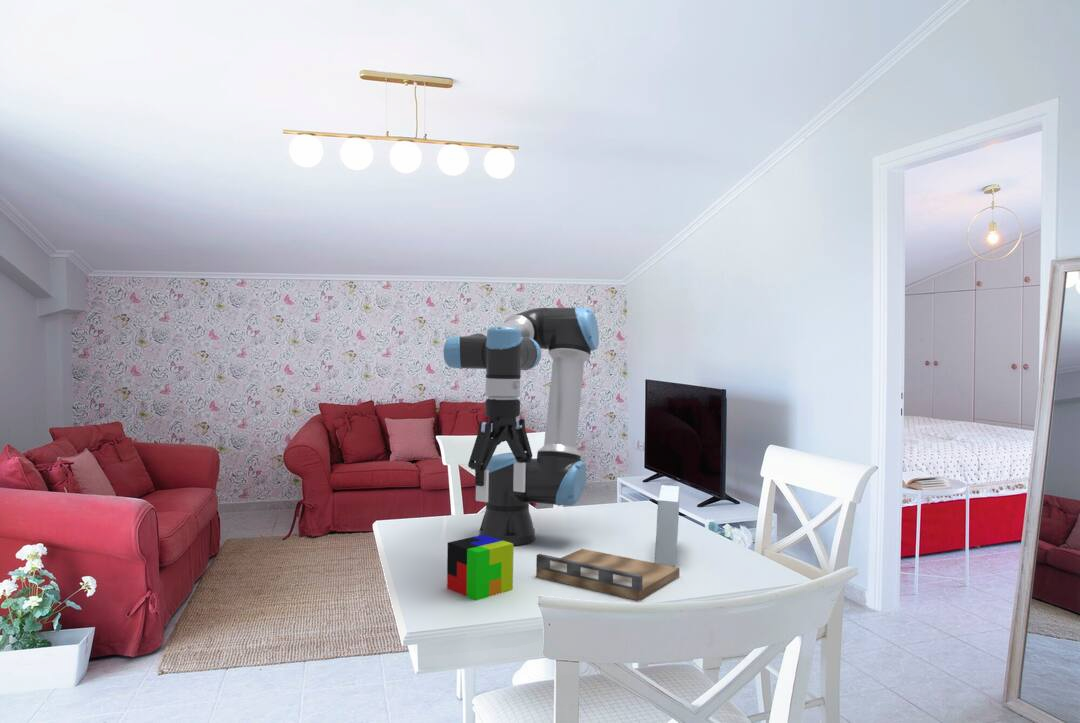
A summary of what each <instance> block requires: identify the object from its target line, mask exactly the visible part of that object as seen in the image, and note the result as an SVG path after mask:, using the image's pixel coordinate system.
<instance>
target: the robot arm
mask: <svg viewBox="0 0 1080 723" xmlns="http://www.w3.org/2000/svg"><path fill="white" fill-rule="evenodd" d="M599 337H600V335H599V325H598V320H597V318H596V315H595V313H594V311H593V310H592V309H590V308H587V307H577V306H575V307H537V308H531V309H529V310H525V311H522V312H519V313H516V314H513V315H510V316H508V317H507V318H506V319H505V320H504V322H503V323H499V324H497V325H495V326H491V327H489V328H486V329H484V330H481V331H479V332H476V333H474V334H471V335H468V336H461V335H458V336H450V337H448V338H447V339H446V340H445V342H444V345H443V351H442V352H443V359H444V363H445V365H447V367H448V368H452V369H460V370H462V369H468V370H470V369H474V370H475V369H476V370H478V369H479V370H482V369H483V370H486V371H485V390H484V392H485V393H484V395H485V396H486V397H487V398H486V399H485V409H484V414H485V416H487V417H488V422H486V421H480V422H479V423H478V428H477V429H478V430H477V435H476V438H475V441H474V445H473V448H472V451H471V455H470V457H469V460H468V465H467V466H468V468H470V469H471V470H474V472H475V473H474V475H475V477H474V478H475V479H474V485H475V501H476V502H483V503H485V512H484V514H483V518H482V521H481V524H480V528H479V531H478V536H479V535H486V536H490V537H493V538H496V539H500V540H503V541H506V542H510V543H513V546H521V545H527V544H529V543H530V544H531V543H532V542H533V541H535V540H536V529H535V528H534V524H533V521H532V517H531V513H530V503H535V504H545V505H553V506H559V507H560V506H574V505H575V504H577V503H578V502H579V501H580V499H581V497H582V495H583V492H584V489H585V487H586V481H587V465H586V463H585V462H584V461H581V459H582V458H581V457H582V455H581V454H580V452H579V451H578V449H577V439H578V431H579V430H578V428H579V418H580V408H581V399H582V398H581V397H582V389H583V378H584V367H585V362H586V361H588V360H589V359H590V358H591V353H592V352H593V351H596V350H597V349H598V347H599V343H600V342H599V341H600V338H599ZM542 350H548V352H547V353H548V355H549V356H550V358H552V365H551V377H550V386H549V394H548V405H547V414H546V423H545V432H544V440H543V441H544V443H543V445H542V447H540V448H539V449H538V450H537V453H536V454H537V455H536V458H534V457H533V452H532V447H531V445H530V441H529V437H528V434H527V431H526V420H525V418H519V417H520V416H521V401H520V399H518V398H519V397H521V379H522V378H521V377H522V375H521V374H522V373H521V372H522V371H528V370H531V369H534V368H535V367H536V366H537V365H539V363H540V361H541V360H542V359H541V358H542ZM591 351H592V352H591ZM504 442H506V443H507V445H508V447H509V448H510V452H505V453H500V454H499V453H498V454H495V455H494V453H495V452H496V449H497V447H498V446H499V445H501V444H502V443H504Z"/></svg>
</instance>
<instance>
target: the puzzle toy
mask: <svg viewBox="0 0 1080 723" xmlns="http://www.w3.org/2000/svg"><path fill="white" fill-rule="evenodd" d="M446 556H447V557H446V558H447V560H446V561H447V562H446V565H447V567H446V572H447V573H446V588H447V589H448V590H450V591H452V592H455V593H457V594H460V595H462V596H465V597H467V598H470V599H472V600H475V601H479V600H482V599H486V597H487V598H490V597H493V596H496V594H497V595H499V593H500V594H503V593H506V591H507V592H510V591H512V589H514V545H513V543H510V542H506V541H503V540H500V539H496V538H493V537H490V536H486V535H479V534H478V535H475V536H471V537H467V538H461V539H457V540H453V541H449V542H447V554H446ZM509 590H510V591H509ZM502 592H503V593H502ZM492 595H493V596H492ZM489 596H490V597H489Z"/></svg>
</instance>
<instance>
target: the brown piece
mask: <svg viewBox="0 0 1080 723" xmlns="http://www.w3.org/2000/svg"><path fill="white" fill-rule="evenodd" d="M535 566H536V567H535V568H536V574H535V576H536V578H540V579H543V580H548V581H552V582H557V583H561V584H565V585H569V586H574V587H578V588H583V589H587V590H592V591H596V592H599V593H603V594H609V595H613V596H617V597H621V598H626V599H630V600H633V599H634V601H637V600H640V601H642V600H644V599H645V598H647V597H649V596H650V595H652V594H653V593H654V592H657V591H659V590H660V589H661V588H663V587H665V586H666V585H668V584H670V583H671V582H674V581H675V580H676V579H678V578H680V567H676V566H667V565H662V564H657V563H654V562H651V561H646V560H641V559H636V558H630V557H626V556H621V555H616V554H611V553H606V552H601V551H596V550H592V549H591V550H590V549H585V548H580V549H579V550H576V551H574V552H571V553H569V554H567V555H565V556H562V557H556V556H553V555H547V554H542V553H538V554H536V564H535Z"/></svg>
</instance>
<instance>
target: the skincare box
mask: <svg viewBox="0 0 1080 723" xmlns="http://www.w3.org/2000/svg"><path fill="white" fill-rule="evenodd" d="M660 486H661V487H660V490H659V493H658V499H657V513H656V530H655V531H656V533H655V534H656V535H655V548H654V560H653V561H654V562H653V563H657V564H662V565H667V566H672V567H676V566H675V565H676V558H677V549H678V548H677V547H678V545H677V544H678V533H679V518H680V516H679V515H680V486H677V485H676V486H675V485H667V484H666V485H665V484H662V485H660Z"/></svg>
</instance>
